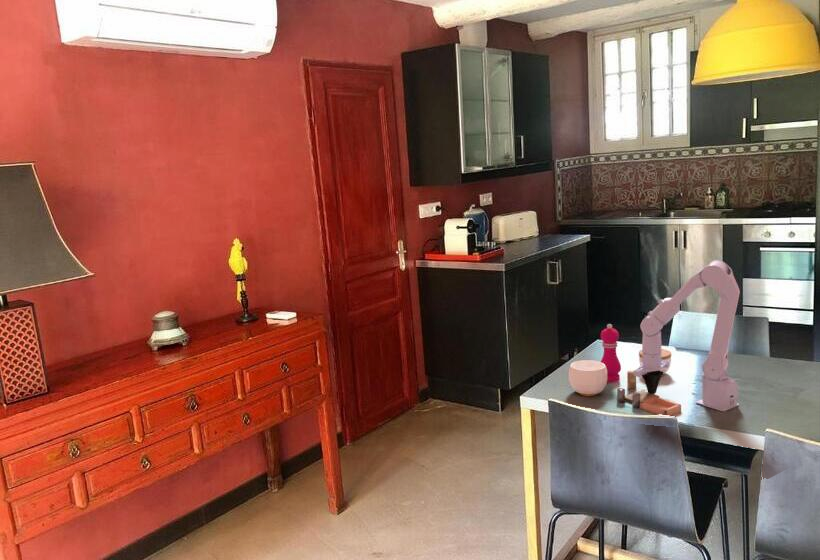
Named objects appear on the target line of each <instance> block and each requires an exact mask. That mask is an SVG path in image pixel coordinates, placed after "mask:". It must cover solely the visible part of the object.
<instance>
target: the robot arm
mask: <svg viewBox="0 0 820 560" xmlns="http://www.w3.org/2000/svg"><path fill="white" fill-rule="evenodd" d="M707 286H708V287H710V288H712V289H713V290H715V292H717V294H718V295H719V296H720V299H719V306H718V310H717V314H716V320H715V324H714V328H713V329H714V330H713V334H712V339H711V344H710V348H709V350H708V355H707V357H706V360H705V361H704V362H703V363H702V366H701V371H702V389H701V390H702V394H701V395H702V398H701V399H699V400H696V401H695V403H696V404H698V405H701V406H704V407H707V408H710V409H714V410H717V411H720V412H726V411H728V410H731V409H733V408H735V407H738V406H740V404H739V402H738V399H739V398H738V397H739V393H738V391H739V385H738V383H737V381H735V380H733V379H731V378H730V376H729V373H728V372H727V368H728V367H729V365H730V360H729V355H728V353H729V345H730V344H729V343H730V340H731V336H732V335H731V334H732V331H733V326H734V322H735V316H736V312H737V307H738V303H739V298H740V292H741V290H740V288H739V285H738V282H737V281H736V277H735V276H734V271H733V269H732V268H731V267H730V266H729V265H728V264H727V263H726V262H724V261H722V260H720V259H715V260H712V261H710V262H709V263H708V264H707V265H706V266H704V267H703V268H701V269H700V270H698V271H697V272H696V273H695V274H693V275H692V276H690V278H689V279H688V280H687V281H686V282H685V284H683V285H682V286H681V287H680V289H678V291H677V292H676V293H675V294H674V295H673V296H672V297H666V298H664V299H662V298H661V299H659V301H658V302H657V303H658V305H656V307H655V308H654V309H652V310H650V311H649V312H648V313H647V316H645V317H644V318H643V319H642V321H641V323H640V325H639V326H640V327H639V328H640V330H641V332H642V341H641V345H642V346H641V350H642V363H640V362H639V367H637V368H635V369H634V370H633V371H634V376H636V378H640V377H642V380H643V381H644V384H645V386H646V391H647V392H648V393H651V394H655V395H656V393H657V390H658V387H659V383H660V381H661V378H662V377H663V376H664V375H663V372H662V371H660V370H661V369H662V368H665V367H666V368H668V367H669V361H665V360H663V361H661V349H662V331H661V330H662V329H663V327H664V326H666V325H667V324H668V322H670V321H671V320H672V319H673V318H674V317H675V316H676V315H677V314H679V312H680V310H681V309H680V307H681V306H680V305H681V304H682V303H683V302H684V301H685V300H686V299H687V298H688V297H689V296H690V295H691V294H693V293H694V291H696V290H697V289H700V288H705V287H707ZM669 368H670V367H669Z"/></svg>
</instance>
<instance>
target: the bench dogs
mask: <svg viewBox="0 0 820 560" xmlns="http://www.w3.org/2000/svg"><path fill="white" fill-rule="evenodd" d="M632 393H633V394H632ZM632 393H631V394H632V403H631V405H632V408H633V407H634V409H640V402H641V395H640V394H639V393H635V392H632ZM625 396H626V389H625V388H622V387H620V388H617V389H616V402H617V403H620V404H623V403H626V401H625Z"/></svg>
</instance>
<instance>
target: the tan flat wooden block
mask: <svg viewBox="0 0 820 560" xmlns="http://www.w3.org/2000/svg"><path fill="white" fill-rule="evenodd" d="M633 393H639V394H640V395H641V402H642V401H645V400H647V399H650V398H653V397H659V398H660V395H657V394H656V393H655V394H651V393H648V391H645V390H643V389H640V390H638V391H636V392H635V391H634V392H632V393H630V394H626V395H625V402H626V401H627V402H626V403H629V402H630V403H629V404H632V394H633Z"/></svg>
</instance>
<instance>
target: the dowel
mask: <svg viewBox="0 0 820 560" xmlns="http://www.w3.org/2000/svg"><path fill="white" fill-rule="evenodd" d="M626 375H627V377H626V378H627V381H626V382H627V383H626V384H627V387H626V388H627V391H630V390H631V392H635V391H637V376H634V370H627V373H626ZM634 390H635V391H634Z"/></svg>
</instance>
